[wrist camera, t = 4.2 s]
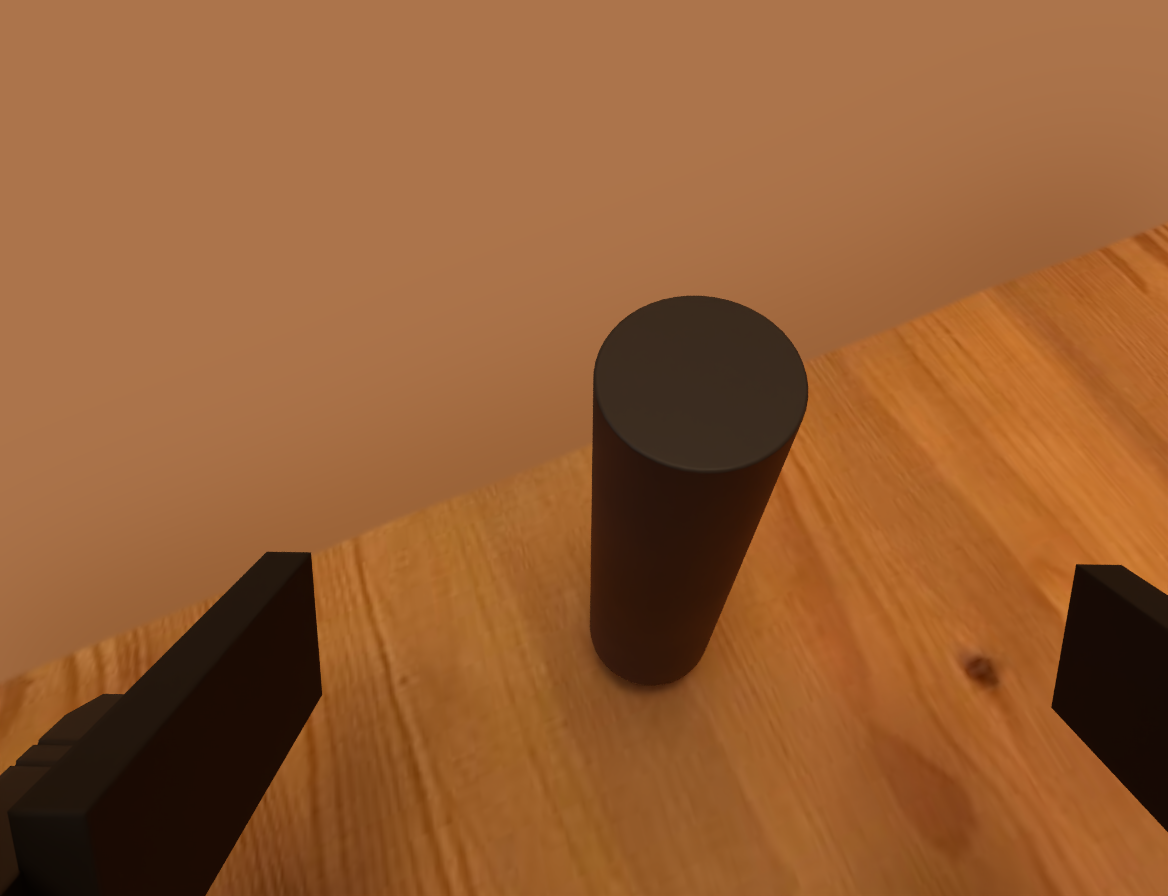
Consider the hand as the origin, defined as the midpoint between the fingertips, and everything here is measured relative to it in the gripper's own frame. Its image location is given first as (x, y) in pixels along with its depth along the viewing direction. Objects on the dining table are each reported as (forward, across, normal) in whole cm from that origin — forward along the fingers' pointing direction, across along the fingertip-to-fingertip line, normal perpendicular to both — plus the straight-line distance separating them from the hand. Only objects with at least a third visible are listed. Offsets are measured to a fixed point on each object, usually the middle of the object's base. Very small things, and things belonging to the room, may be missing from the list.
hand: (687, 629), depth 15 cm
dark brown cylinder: (+8, 0, -5) cm, 9 cm away
